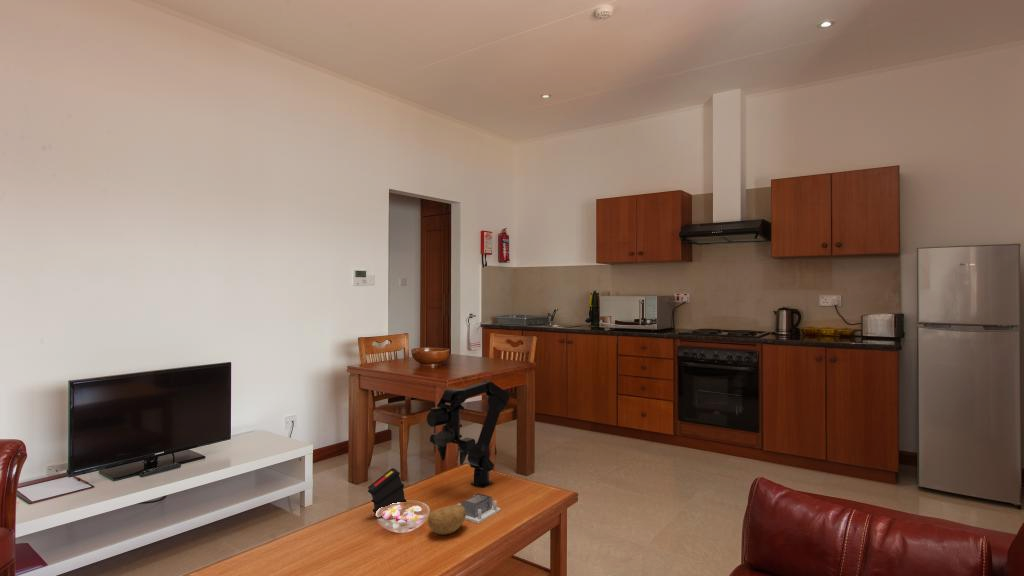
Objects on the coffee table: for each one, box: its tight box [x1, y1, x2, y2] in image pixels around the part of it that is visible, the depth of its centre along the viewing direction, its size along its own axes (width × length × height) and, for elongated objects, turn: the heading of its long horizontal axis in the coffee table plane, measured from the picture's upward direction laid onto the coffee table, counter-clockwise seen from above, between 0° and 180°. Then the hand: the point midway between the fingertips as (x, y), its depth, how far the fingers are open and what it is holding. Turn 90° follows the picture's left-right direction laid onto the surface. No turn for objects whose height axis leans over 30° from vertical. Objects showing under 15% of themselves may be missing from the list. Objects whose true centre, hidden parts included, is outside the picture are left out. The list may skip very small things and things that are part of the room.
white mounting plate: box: [456, 494, 501, 524], centre depth 186 cm, size 13×11×4 cm
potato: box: [427, 504, 466, 536], centre depth 171 cm, size 10×14×8 cm
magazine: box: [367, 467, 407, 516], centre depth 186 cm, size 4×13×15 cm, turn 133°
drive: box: [461, 493, 493, 518], centre depth 186 cm, size 10×6×4 cm, turn 146°
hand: (452, 462), depth 204 cm, fingers open, 9 cm apart
